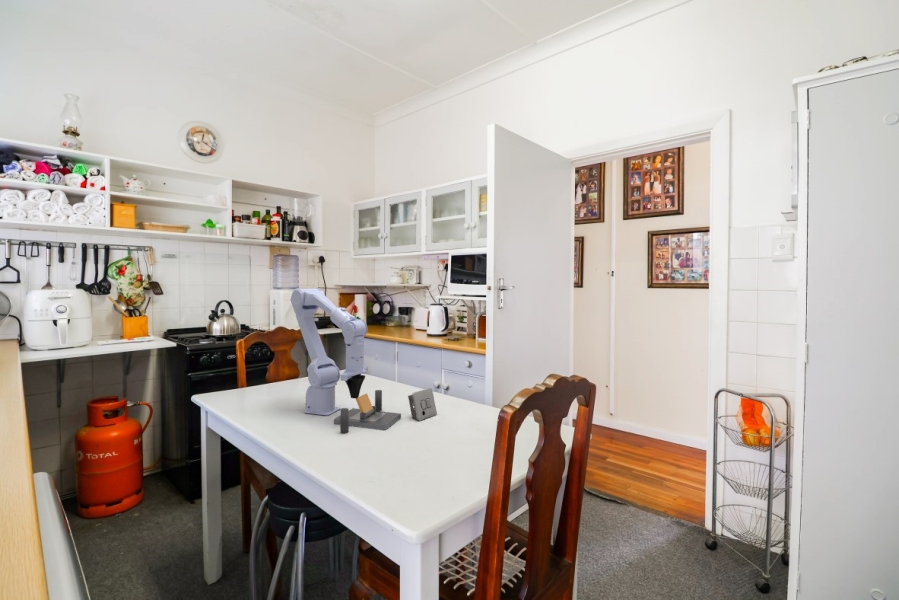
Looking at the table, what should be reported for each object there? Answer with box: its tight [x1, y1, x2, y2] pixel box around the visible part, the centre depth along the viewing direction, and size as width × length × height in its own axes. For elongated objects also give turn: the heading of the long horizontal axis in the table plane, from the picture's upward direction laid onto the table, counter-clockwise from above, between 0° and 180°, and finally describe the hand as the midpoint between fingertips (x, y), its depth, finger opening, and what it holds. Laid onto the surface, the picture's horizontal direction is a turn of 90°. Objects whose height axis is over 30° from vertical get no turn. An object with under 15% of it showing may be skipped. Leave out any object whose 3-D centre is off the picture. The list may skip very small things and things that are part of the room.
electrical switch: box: [407, 387, 438, 422], centre depth 147 cm, size 9×5×9 cm, turn 141°
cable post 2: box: [374, 389, 383, 412], centre depth 153 cm, size 2×2×7 cm
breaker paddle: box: [355, 392, 375, 417], centre depth 142 cm, size 2×6×7 cm, turn 163°
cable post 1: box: [339, 407, 350, 435], centre depth 131 cm, size 2×2×7 cm
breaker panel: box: [333, 405, 402, 431], centre depth 141 cm, size 18×12×4 cm, turn 73°
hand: (354, 397), depth 143 cm, fingers closed
